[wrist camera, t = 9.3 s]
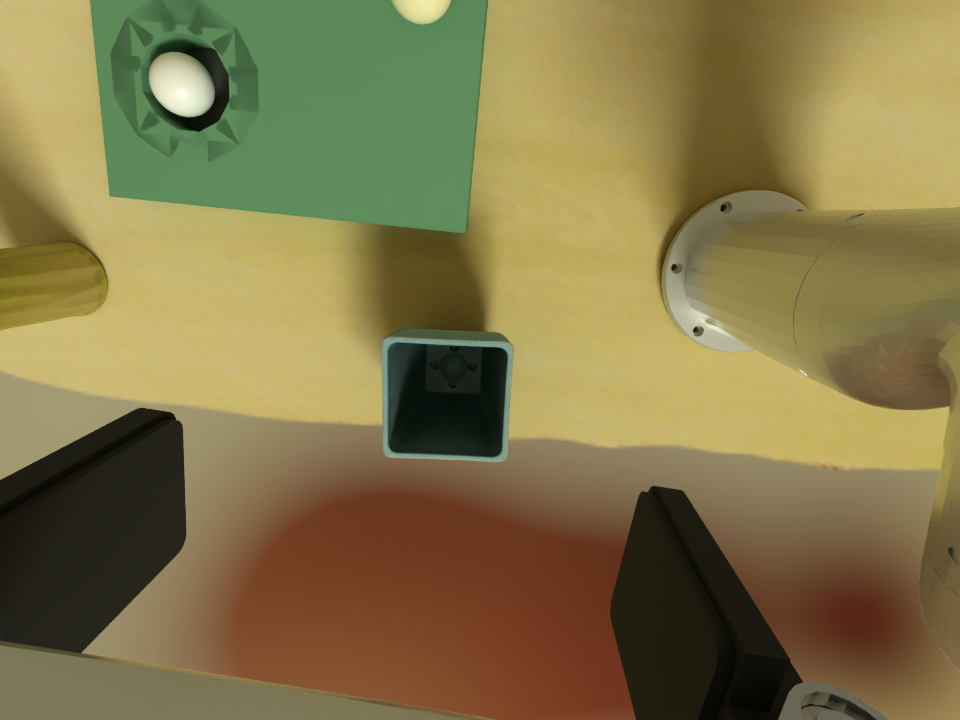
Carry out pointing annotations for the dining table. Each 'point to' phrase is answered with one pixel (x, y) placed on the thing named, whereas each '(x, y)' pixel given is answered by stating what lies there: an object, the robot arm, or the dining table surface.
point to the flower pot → (446, 394)
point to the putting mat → (297, 108)
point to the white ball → (181, 84)
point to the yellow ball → (421, 10)
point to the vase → (49, 283)
